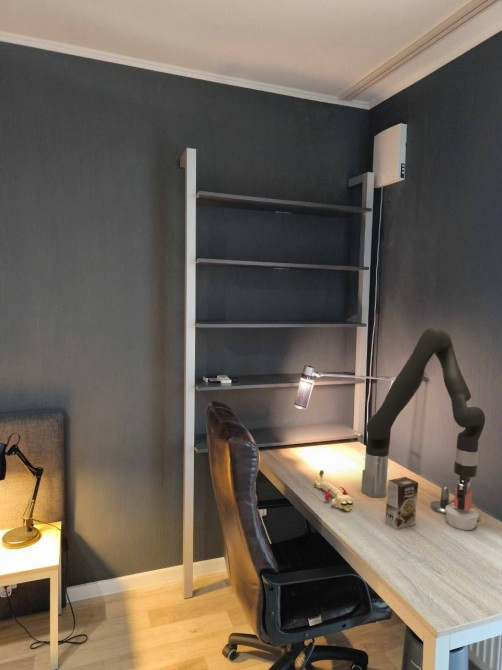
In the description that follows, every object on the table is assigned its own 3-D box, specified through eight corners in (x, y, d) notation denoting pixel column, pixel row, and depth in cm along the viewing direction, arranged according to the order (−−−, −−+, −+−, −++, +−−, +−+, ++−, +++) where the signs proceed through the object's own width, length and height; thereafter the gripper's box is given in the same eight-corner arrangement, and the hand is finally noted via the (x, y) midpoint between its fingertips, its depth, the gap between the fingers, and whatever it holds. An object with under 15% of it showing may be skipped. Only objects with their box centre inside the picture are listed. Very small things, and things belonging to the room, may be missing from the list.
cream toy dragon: (309, 490, 199) (337, 512, 175) (309, 470, 198) (337, 489, 175) (330, 488, 202) (360, 510, 178) (330, 468, 201) (360, 487, 178)
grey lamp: (445, 516, 176) (447, 494, 175) (424, 505, 185) (426, 483, 184) (463, 512, 181) (465, 489, 180) (442, 501, 189) (444, 480, 189)
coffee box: (397, 530, 165) (400, 486, 163) (384, 522, 170) (387, 479, 169) (416, 525, 169) (419, 482, 167) (402, 517, 175) (405, 475, 173)
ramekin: (460, 514, 178) (461, 501, 178) (484, 529, 168) (485, 515, 168) (437, 519, 174) (438, 505, 174) (460, 534, 164) (462, 519, 163)
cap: (449, 506, 170) (451, 490, 170) (452, 500, 175) (453, 485, 174) (472, 512, 166) (473, 496, 165) (474, 506, 171) (476, 490, 170)
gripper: (458, 453, 177) (454, 496, 179) (451, 464, 165) (447, 510, 167) (480, 458, 173) (476, 501, 174) (474, 469, 161) (470, 516, 163)
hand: (462, 505), depth 171 cm, fingers closed on cap, 5 cm apart
